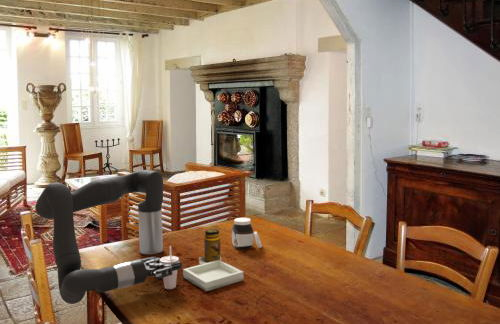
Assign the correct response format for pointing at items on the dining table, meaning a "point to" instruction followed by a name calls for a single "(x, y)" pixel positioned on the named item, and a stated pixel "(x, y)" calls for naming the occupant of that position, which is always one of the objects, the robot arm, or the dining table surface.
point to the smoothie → (171, 280)
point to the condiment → (211, 246)
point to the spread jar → (244, 234)
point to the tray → (213, 275)
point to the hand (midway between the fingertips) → (175, 262)
